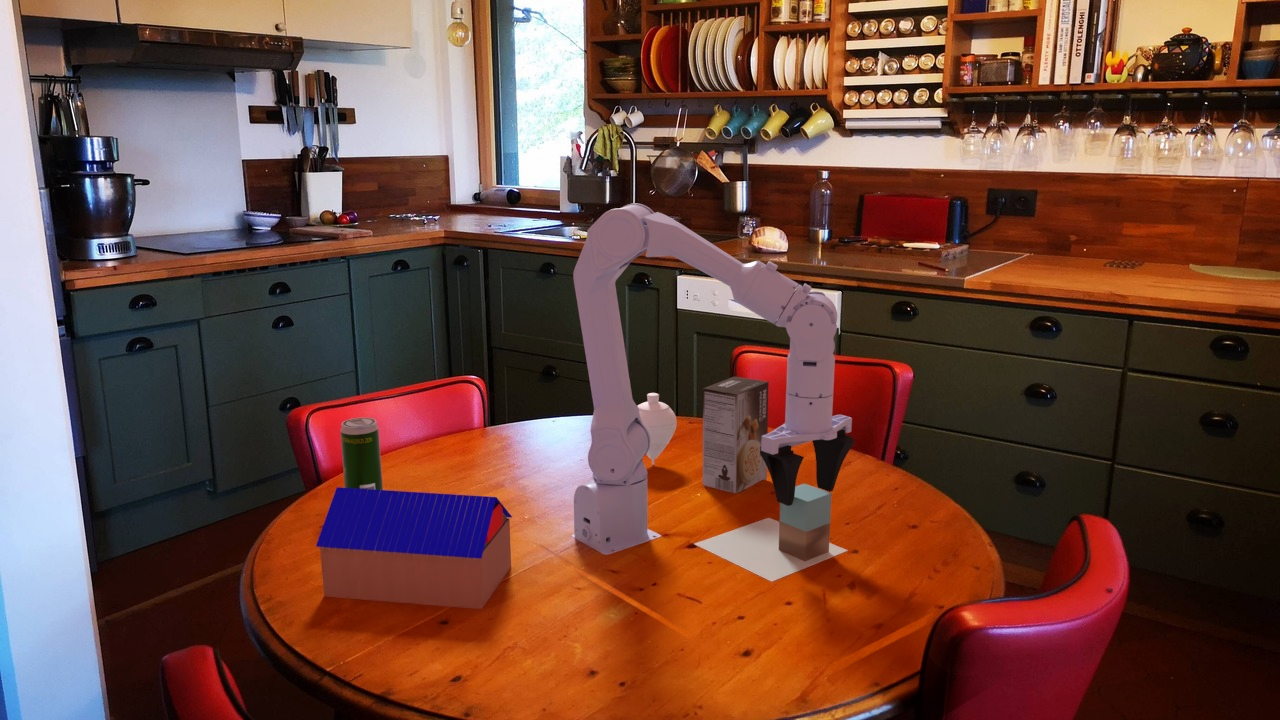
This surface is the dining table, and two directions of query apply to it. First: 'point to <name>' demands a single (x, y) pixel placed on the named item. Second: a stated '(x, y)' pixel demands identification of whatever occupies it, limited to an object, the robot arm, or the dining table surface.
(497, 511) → the house
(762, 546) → the mat
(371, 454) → the beer can
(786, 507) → the teal block
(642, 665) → the dining table surface
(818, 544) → the walnut block
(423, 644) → the dining table surface
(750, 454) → the coffee box
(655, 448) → the spinning top
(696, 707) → the dining table surface
